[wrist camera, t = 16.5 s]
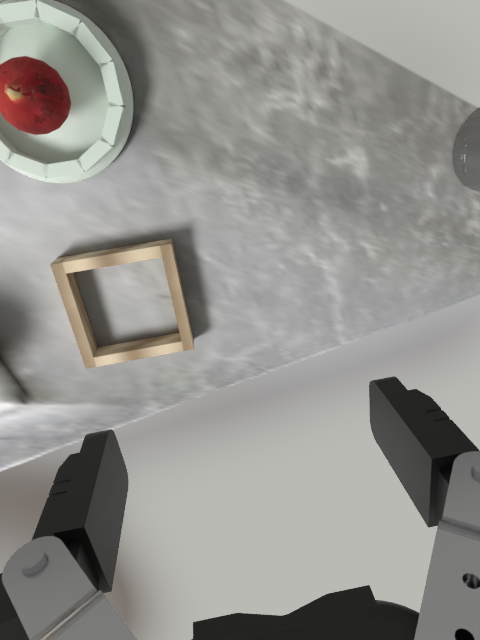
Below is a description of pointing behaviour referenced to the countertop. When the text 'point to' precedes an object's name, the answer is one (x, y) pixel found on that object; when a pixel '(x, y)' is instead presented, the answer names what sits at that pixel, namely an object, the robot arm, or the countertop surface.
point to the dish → (84, 89)
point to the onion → (33, 95)
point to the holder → (79, 319)
